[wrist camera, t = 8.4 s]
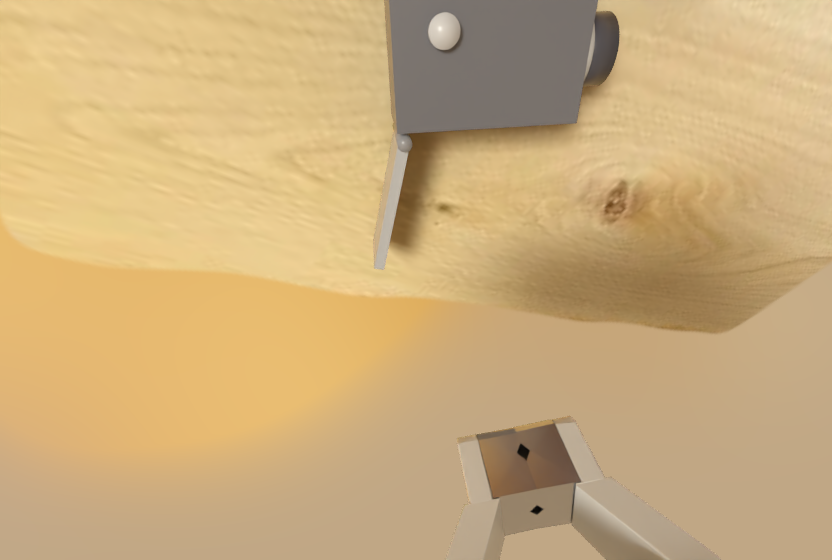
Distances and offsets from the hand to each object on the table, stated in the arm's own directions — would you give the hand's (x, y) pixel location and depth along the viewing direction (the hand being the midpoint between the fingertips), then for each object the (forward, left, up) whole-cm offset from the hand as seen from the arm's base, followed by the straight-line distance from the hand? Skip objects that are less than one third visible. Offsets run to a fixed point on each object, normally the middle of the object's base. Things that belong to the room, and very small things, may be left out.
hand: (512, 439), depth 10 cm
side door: (+2, +2, -27) cm, 27 cm away
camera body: (-6, -7, -27) cm, 29 cm away
